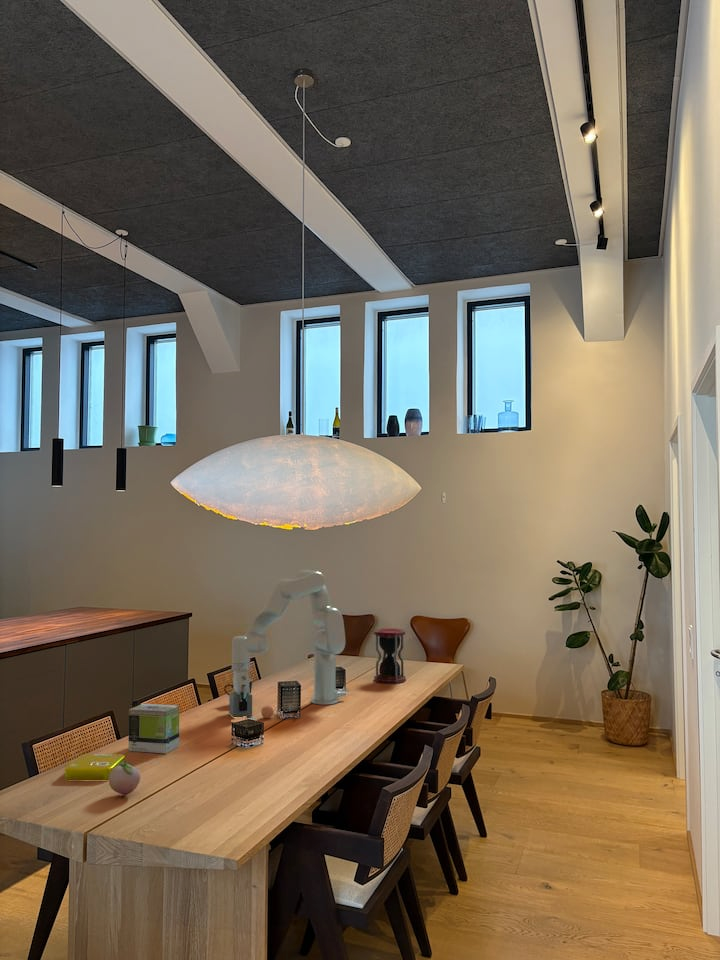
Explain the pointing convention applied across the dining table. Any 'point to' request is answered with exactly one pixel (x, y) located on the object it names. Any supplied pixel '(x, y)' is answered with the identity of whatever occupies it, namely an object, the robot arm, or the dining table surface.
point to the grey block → (234, 705)
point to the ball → (267, 711)
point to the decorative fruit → (124, 778)
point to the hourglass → (389, 656)
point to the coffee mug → (232, 686)
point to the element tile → (93, 766)
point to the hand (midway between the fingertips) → (240, 708)
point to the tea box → (154, 728)
